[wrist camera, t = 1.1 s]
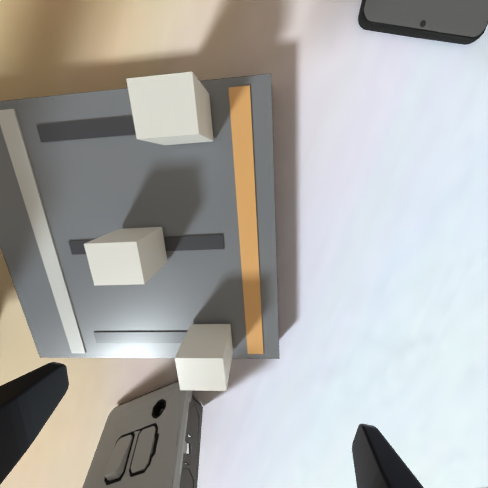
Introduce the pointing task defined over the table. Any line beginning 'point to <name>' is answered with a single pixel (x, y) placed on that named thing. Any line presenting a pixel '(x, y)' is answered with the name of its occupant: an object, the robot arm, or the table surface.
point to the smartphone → (427, 18)
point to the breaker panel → (141, 222)
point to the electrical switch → (150, 443)
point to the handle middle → (126, 256)
